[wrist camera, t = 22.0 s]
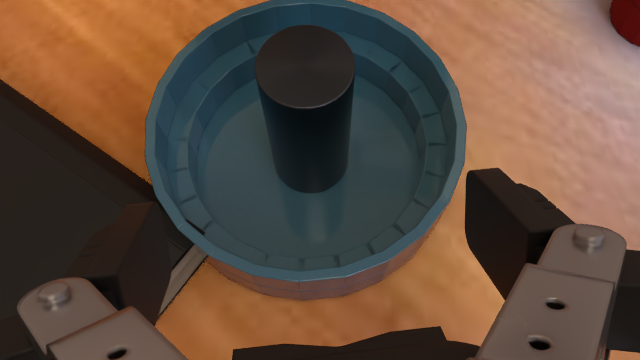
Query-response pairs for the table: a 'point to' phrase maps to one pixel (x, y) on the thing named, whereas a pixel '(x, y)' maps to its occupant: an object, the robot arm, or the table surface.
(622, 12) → the plastic cup
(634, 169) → the table surface
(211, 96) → the bowl
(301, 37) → the black cylinder
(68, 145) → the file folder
